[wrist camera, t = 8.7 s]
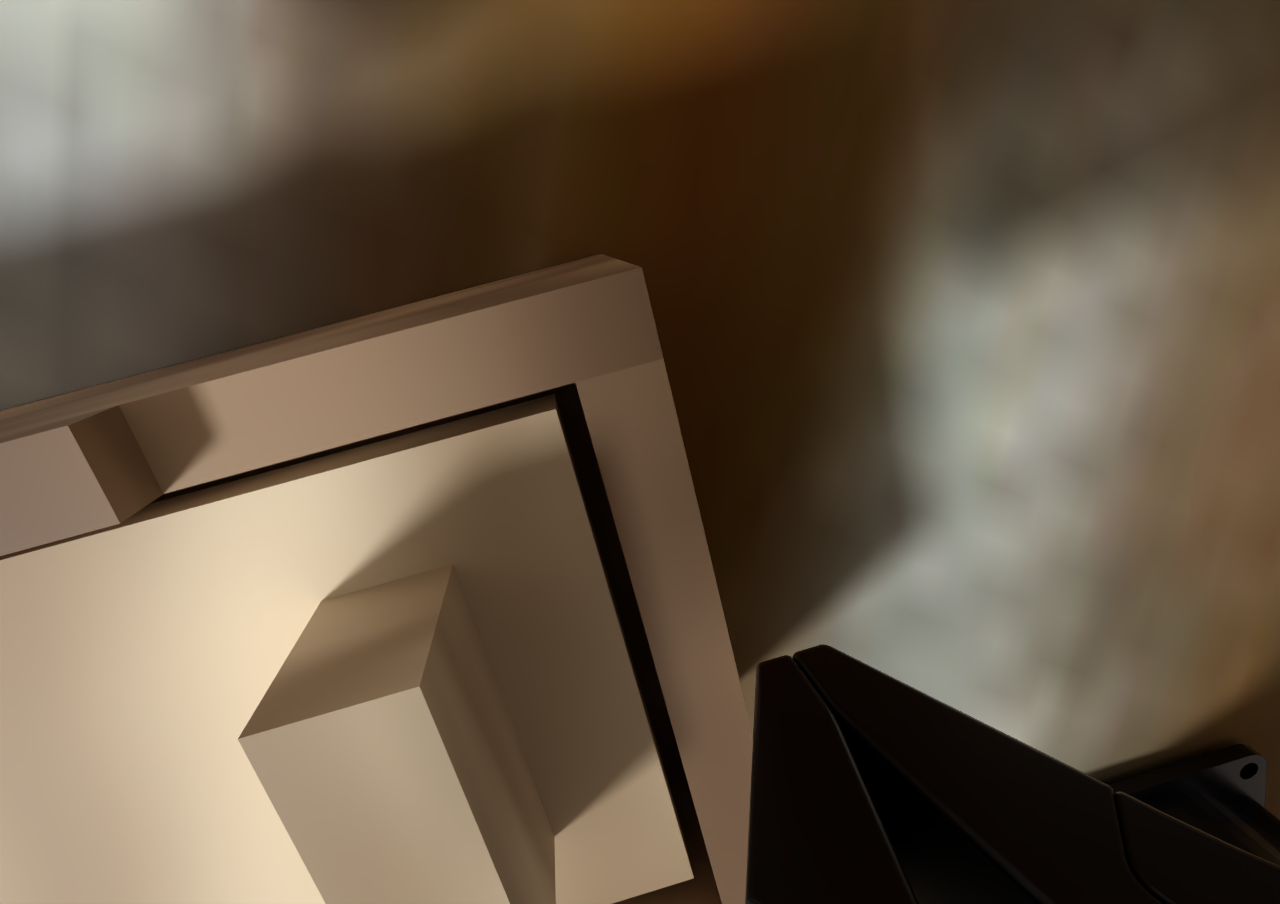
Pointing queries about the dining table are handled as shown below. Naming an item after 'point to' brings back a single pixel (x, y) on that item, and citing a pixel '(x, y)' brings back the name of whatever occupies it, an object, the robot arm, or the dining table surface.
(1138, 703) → the dining table surface
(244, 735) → the sliding box lid
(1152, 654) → the dining table surface
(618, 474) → the toolbox
